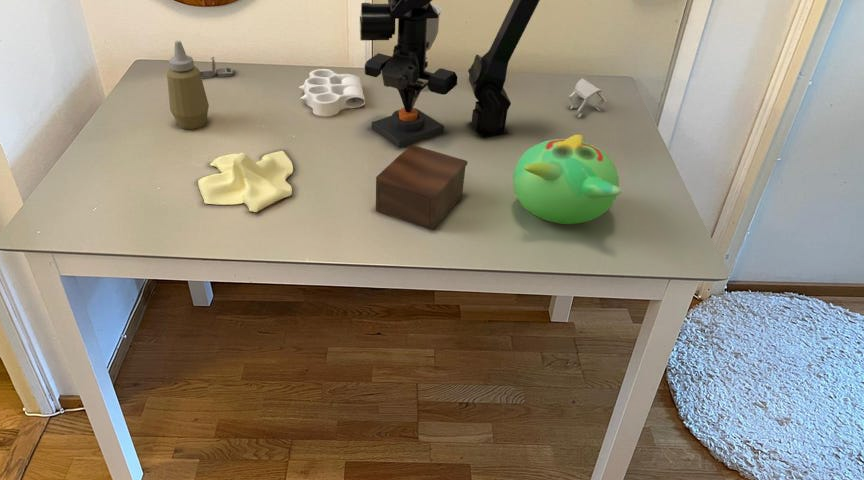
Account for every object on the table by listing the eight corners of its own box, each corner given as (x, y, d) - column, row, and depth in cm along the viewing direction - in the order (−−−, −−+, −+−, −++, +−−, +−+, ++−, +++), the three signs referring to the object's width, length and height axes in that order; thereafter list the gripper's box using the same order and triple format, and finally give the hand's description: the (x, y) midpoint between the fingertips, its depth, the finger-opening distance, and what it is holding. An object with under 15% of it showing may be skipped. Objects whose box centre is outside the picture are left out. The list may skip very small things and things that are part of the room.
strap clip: (232, 71, 169) (230, 54, 166) (233, 76, 167) (231, 59, 164) (197, 74, 167) (194, 57, 164) (197, 79, 165) (195, 62, 162)
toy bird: (607, 197, 129) (627, 127, 120) (609, 251, 116) (631, 177, 107) (511, 183, 132) (523, 114, 122) (503, 235, 119) (515, 162, 110)
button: (409, 113, 148) (410, 105, 146) (421, 120, 145) (421, 112, 144) (394, 117, 146) (395, 110, 145) (406, 125, 143) (406, 117, 142)
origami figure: (610, 117, 154) (615, 97, 151) (574, 119, 153) (579, 98, 150) (590, 93, 163) (594, 74, 160) (556, 95, 162) (560, 75, 159)
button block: (415, 114, 153) (416, 100, 151) (443, 132, 147) (445, 118, 145) (371, 129, 148) (371, 114, 145) (399, 148, 141) (399, 133, 139)
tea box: (407, 178, 133) (409, 149, 128) (462, 196, 128) (465, 166, 124) (375, 210, 124) (375, 180, 120) (432, 230, 120) (435, 200, 116)
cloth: (281, 217, 122) (278, 188, 118) (181, 206, 124) (175, 177, 120) (310, 154, 139) (309, 127, 135) (223, 145, 141) (219, 118, 137)
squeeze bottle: (184, 136, 144) (169, 53, 132) (166, 122, 148) (149, 40, 137) (218, 124, 148) (206, 43, 136) (199, 111, 152) (186, 31, 141)
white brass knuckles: (366, 115, 152) (300, 118, 151) (358, 80, 166) (297, 82, 164) (366, 101, 150) (299, 104, 149) (358, 67, 164) (297, 69, 162)
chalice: (409, 77, 168) (413, 3, 156) (437, 79, 167) (443, 5, 156) (406, 90, 162) (409, 14, 151) (434, 92, 162) (440, 16, 150)
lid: (411, 148, 129) (411, 144, 129) (467, 164, 125) (467, 160, 124) (375, 180, 120) (375, 176, 119) (435, 199, 116) (435, 196, 115)
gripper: (350, 42, 132) (351, 116, 142) (436, 63, 125) (431, 139, 135) (378, 24, 140) (377, 95, 150) (461, 43, 133) (454, 116, 143)
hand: (408, 111), depth 144 cm, fingers closed, pressing on button
